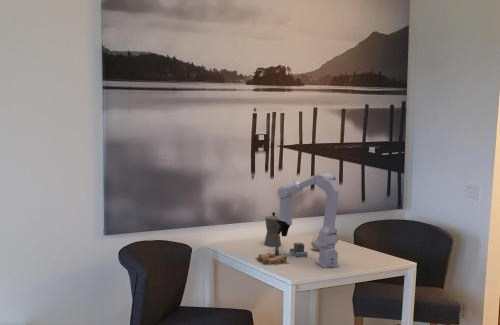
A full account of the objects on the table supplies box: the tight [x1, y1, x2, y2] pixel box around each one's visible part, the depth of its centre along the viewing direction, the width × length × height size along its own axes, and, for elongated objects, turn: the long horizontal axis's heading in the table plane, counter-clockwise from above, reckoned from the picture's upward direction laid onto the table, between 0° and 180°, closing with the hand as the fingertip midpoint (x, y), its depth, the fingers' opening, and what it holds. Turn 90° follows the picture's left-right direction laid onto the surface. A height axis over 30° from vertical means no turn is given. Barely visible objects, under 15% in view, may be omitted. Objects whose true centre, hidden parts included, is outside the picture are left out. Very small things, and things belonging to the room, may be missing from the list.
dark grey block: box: [293, 242, 305, 254], centre depth 291 cm, size 4×4×5 cm
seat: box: [289, 247, 309, 258], centre depth 292 cm, size 9×6×2 cm, turn 19°
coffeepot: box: [264, 212, 282, 248], centre depth 310 cm, size 15×9×18 cm, turn 29°
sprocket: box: [256, 246, 288, 264], centre depth 278 cm, size 14×14×6 cm
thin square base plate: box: [254, 256, 290, 266], centre depth 278 cm, size 14×13×1 cm
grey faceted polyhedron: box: [310, 234, 320, 252], centre depth 303 cm, size 8×9×10 cm
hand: (284, 236), depth 291 cm, fingers closed
